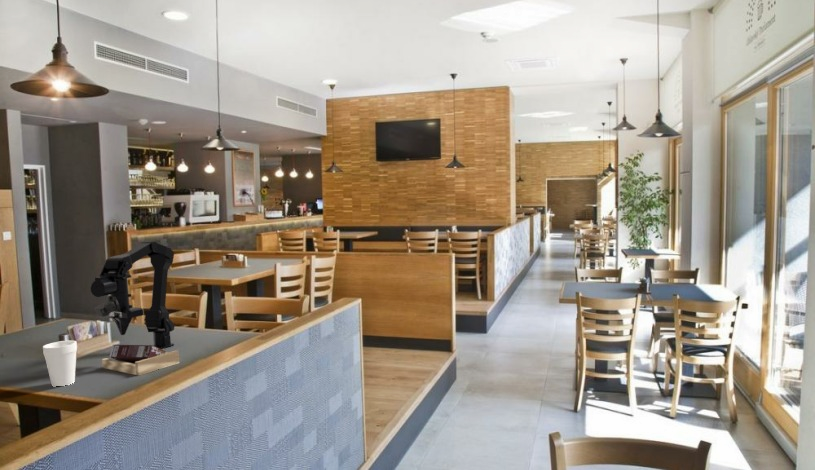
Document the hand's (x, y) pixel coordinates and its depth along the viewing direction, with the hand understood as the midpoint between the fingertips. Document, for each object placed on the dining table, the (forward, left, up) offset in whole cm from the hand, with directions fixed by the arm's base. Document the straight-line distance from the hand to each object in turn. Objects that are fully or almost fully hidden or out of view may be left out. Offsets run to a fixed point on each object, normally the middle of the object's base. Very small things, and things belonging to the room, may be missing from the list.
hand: (122, 334), depth 207 cm
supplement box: (+2, -4, -6) cm, 7 cm away
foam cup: (+5, -24, -10) cm, 27 cm away
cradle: (+9, 0, -10) cm, 13 cm away
